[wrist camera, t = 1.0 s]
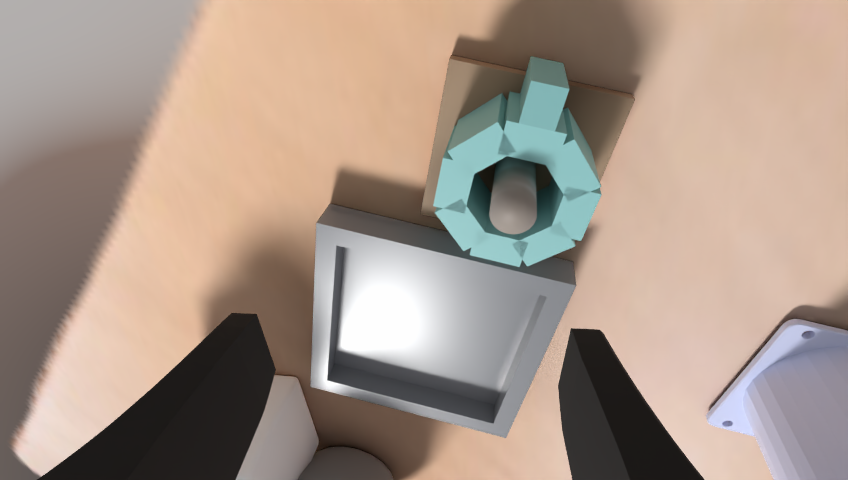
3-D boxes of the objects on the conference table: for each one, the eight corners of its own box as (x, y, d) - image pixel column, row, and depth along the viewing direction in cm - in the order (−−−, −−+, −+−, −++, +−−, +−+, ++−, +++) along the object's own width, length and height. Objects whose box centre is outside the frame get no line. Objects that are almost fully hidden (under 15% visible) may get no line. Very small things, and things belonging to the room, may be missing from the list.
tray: (573, 261, 23) (576, 285, 21) (507, 412, 30) (505, 437, 28) (329, 203, 23) (316, 222, 22) (320, 363, 30) (310, 386, 29)
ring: (560, 233, 21) (564, 278, 19) (437, 204, 22) (425, 244, 19) (624, 76, 17) (640, 104, 15) (471, 43, 17) (461, 65, 15)
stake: (632, 94, 18) (661, 143, 14) (569, 242, 22) (578, 312, 18) (451, 55, 18) (430, 92, 14) (422, 207, 22) (400, 268, 19)
